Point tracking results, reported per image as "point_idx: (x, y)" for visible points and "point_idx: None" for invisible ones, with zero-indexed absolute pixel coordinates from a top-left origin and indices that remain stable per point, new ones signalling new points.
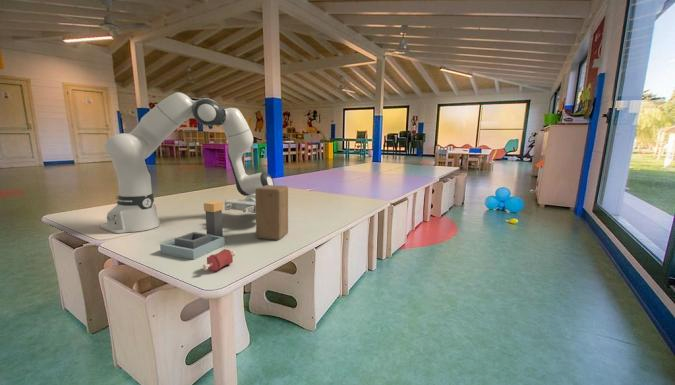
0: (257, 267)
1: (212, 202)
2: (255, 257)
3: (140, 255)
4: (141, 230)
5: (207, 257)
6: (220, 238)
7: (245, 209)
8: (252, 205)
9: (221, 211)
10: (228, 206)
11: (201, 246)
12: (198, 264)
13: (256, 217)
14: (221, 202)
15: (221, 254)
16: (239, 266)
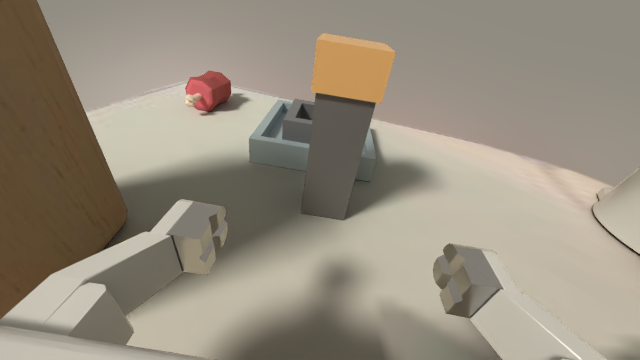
0: (132, 102)
1: (360, 42)
2: (137, 122)
3: (384, 127)
4: (595, 212)
5: (229, 80)
6: (256, 132)
7: (190, 204)
8: (40, 333)
9: (315, 101)
10: (461, 265)
11: (275, 108)
12: (257, 110)
13: (82, 114)
14: (318, 40)
15: (202, 75)
16: (173, 104)
